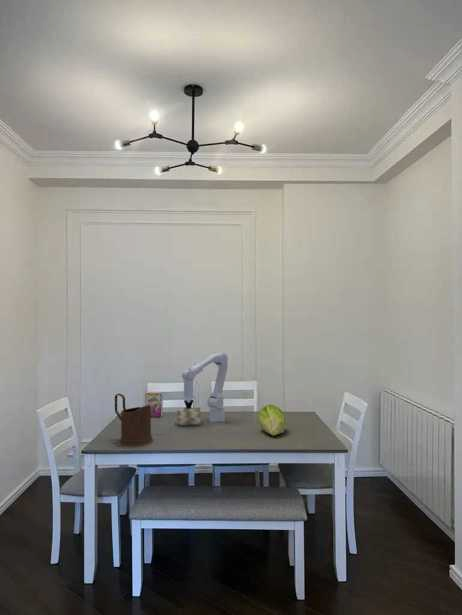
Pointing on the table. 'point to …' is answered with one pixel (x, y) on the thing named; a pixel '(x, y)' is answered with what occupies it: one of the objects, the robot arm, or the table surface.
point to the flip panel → (188, 416)
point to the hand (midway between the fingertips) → (188, 412)
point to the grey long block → (176, 422)
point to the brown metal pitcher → (134, 424)
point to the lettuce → (272, 420)
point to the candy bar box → (155, 403)
